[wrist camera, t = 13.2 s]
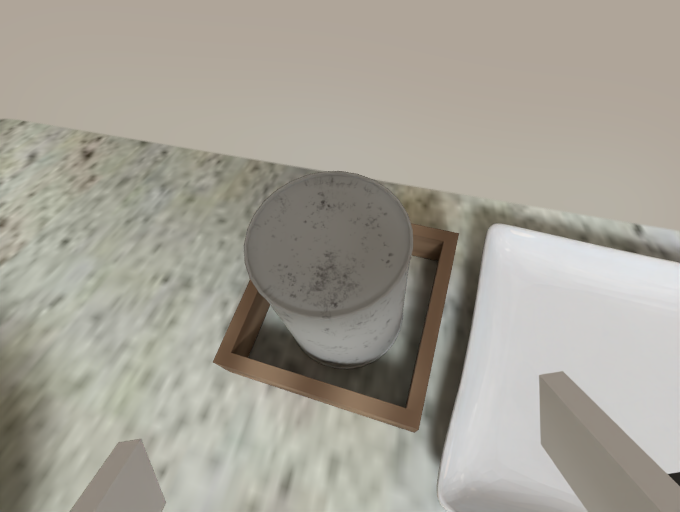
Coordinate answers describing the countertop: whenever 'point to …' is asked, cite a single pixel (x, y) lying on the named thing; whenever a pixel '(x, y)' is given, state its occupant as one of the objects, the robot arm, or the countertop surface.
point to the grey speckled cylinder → (333, 264)
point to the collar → (236, 361)
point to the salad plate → (559, 364)
